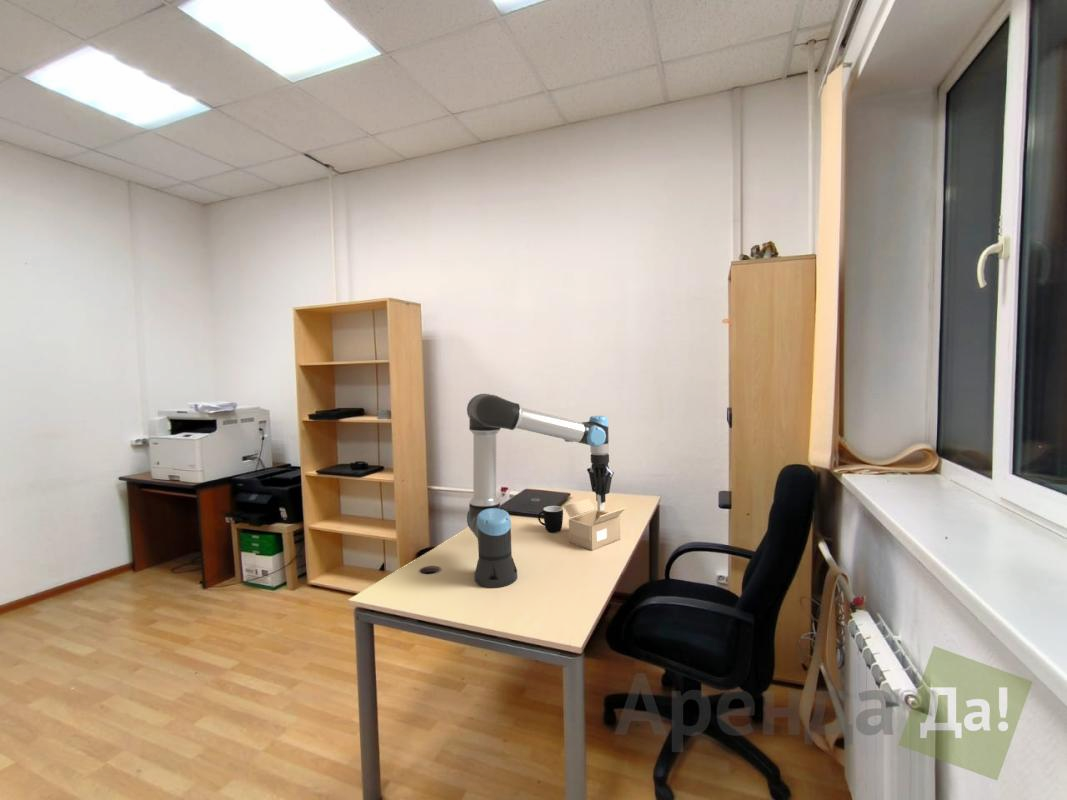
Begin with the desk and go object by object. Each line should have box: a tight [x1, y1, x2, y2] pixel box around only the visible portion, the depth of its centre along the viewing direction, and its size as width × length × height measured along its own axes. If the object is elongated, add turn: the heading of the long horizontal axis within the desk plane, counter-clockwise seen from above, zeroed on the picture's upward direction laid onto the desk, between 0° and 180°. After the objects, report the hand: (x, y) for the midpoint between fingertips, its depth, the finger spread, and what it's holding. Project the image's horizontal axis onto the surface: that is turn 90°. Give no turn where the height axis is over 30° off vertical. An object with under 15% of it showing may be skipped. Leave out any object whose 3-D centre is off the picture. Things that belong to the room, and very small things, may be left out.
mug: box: [537, 505, 564, 534], centre depth 212 cm, size 12×9×10 cm
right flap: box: [593, 507, 626, 525], centre depth 190 cm, size 16×6×1 cm
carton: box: [568, 509, 621, 552], centre depth 197 cm, size 18×13×10 cm
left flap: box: [563, 498, 597, 518], centre depth 202 cm, size 16×6×1 cm
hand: (601, 509), depth 193 cm, fingers closed
